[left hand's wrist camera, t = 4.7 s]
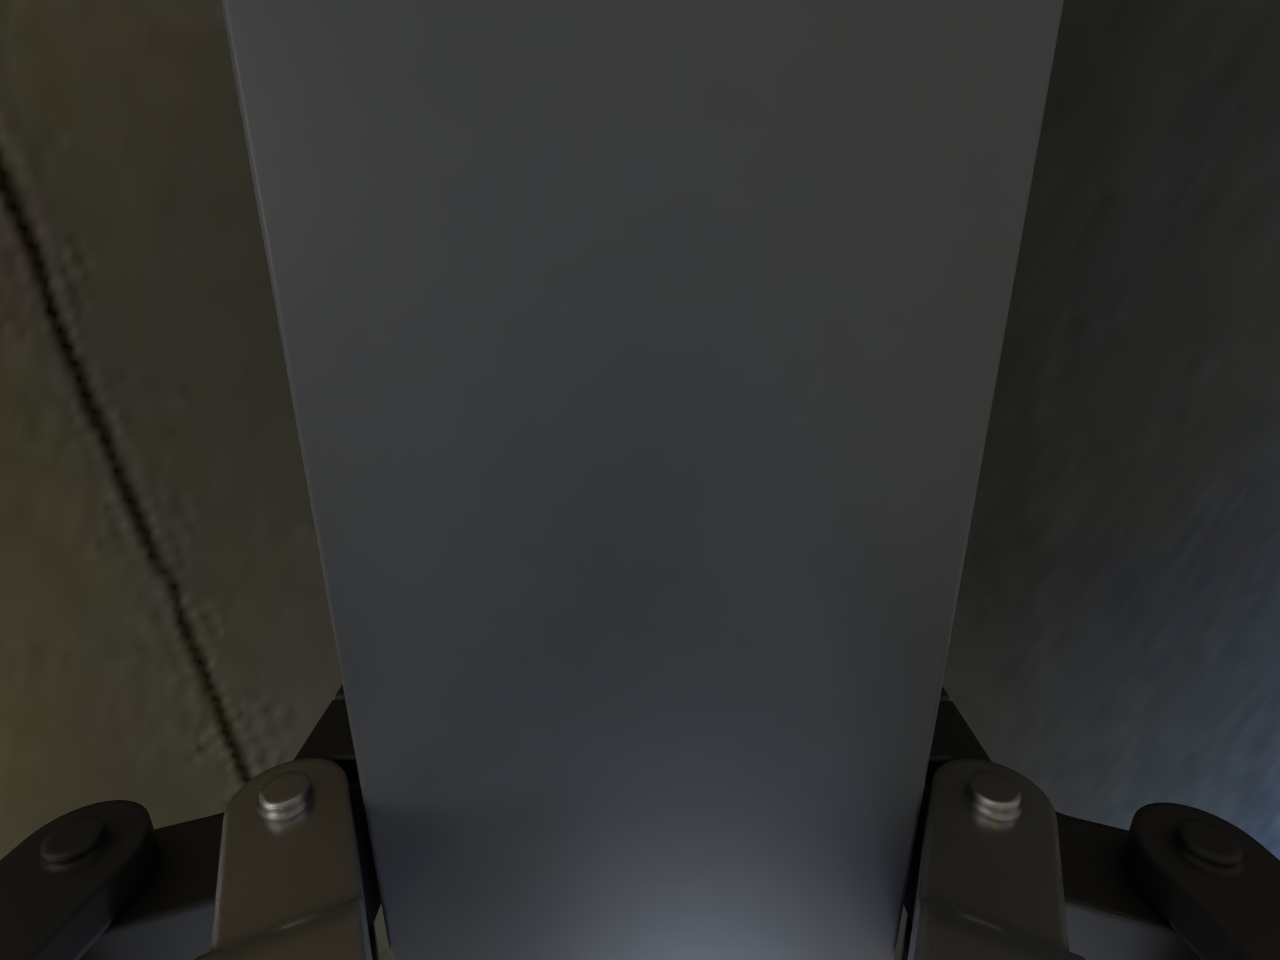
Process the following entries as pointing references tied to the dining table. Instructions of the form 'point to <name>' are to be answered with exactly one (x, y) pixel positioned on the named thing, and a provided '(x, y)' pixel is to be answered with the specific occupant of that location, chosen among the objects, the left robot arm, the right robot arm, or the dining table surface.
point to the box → (642, 439)
